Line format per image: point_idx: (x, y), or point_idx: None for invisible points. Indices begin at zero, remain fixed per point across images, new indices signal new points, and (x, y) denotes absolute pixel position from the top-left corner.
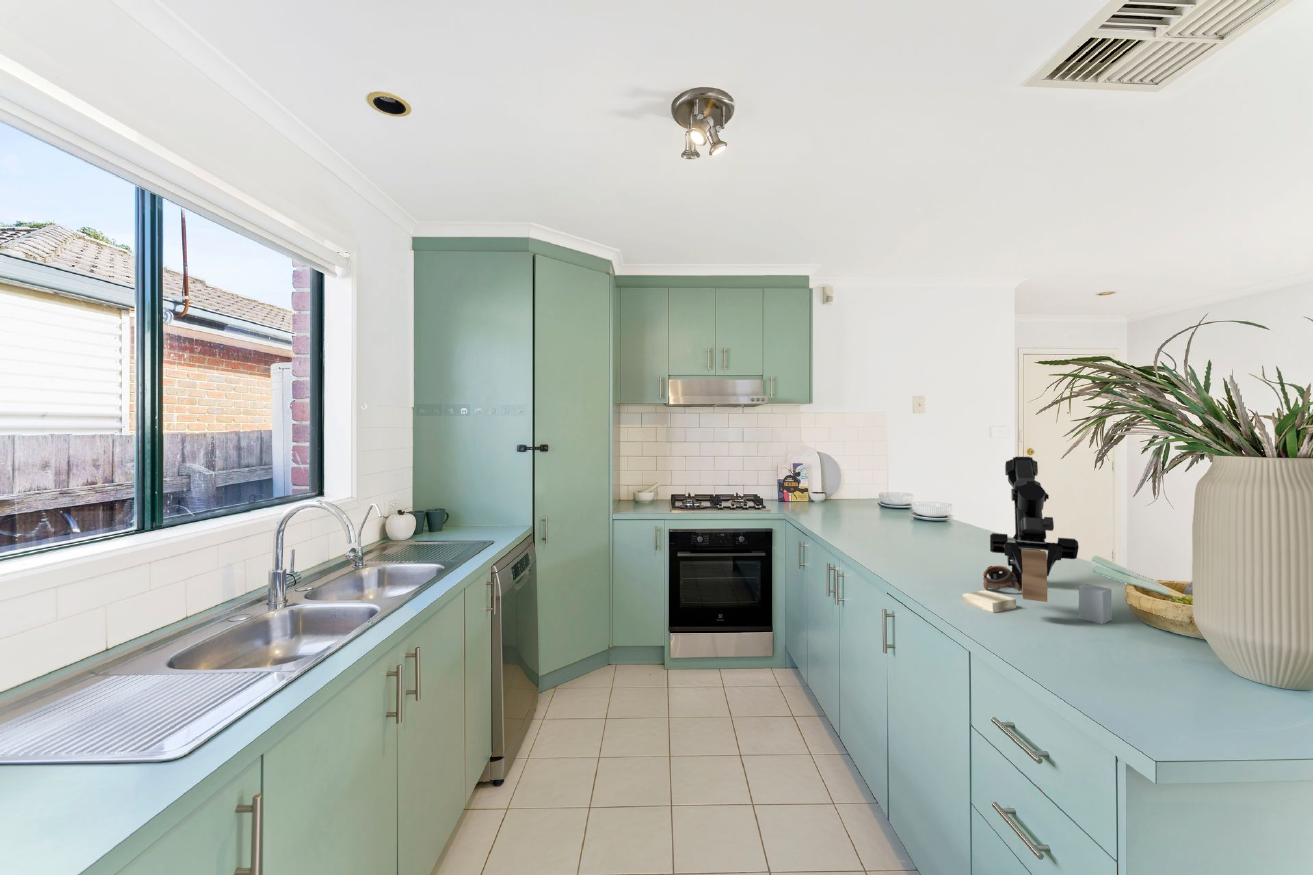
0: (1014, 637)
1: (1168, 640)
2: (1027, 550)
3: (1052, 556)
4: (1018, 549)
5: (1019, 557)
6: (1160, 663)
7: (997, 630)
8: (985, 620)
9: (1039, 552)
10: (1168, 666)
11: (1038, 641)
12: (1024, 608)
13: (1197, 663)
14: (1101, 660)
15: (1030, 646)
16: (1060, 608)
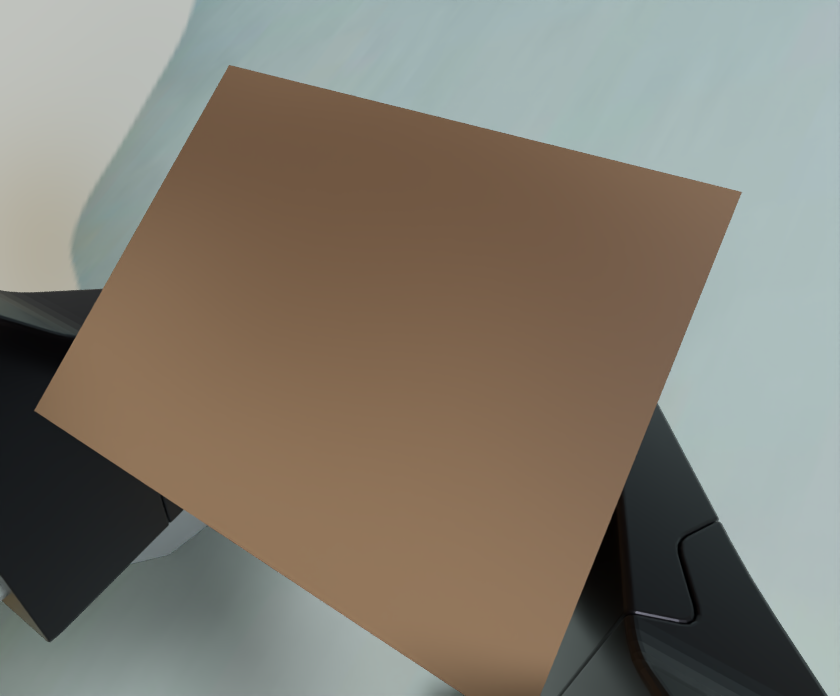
0: (746, 172)
1: (122, 244)
2: (429, 477)
3: (89, 299)
4: (668, 690)
5: (643, 505)
6: (311, 32)
7: (806, 261)
8: (822, 433)
9: (263, 226)
10: (306, 15)
11: (641, 142)
12: (436, 685)
13: (205, 60)
14: (489, 4)
15: (714, 74)
16: (230, 670)
